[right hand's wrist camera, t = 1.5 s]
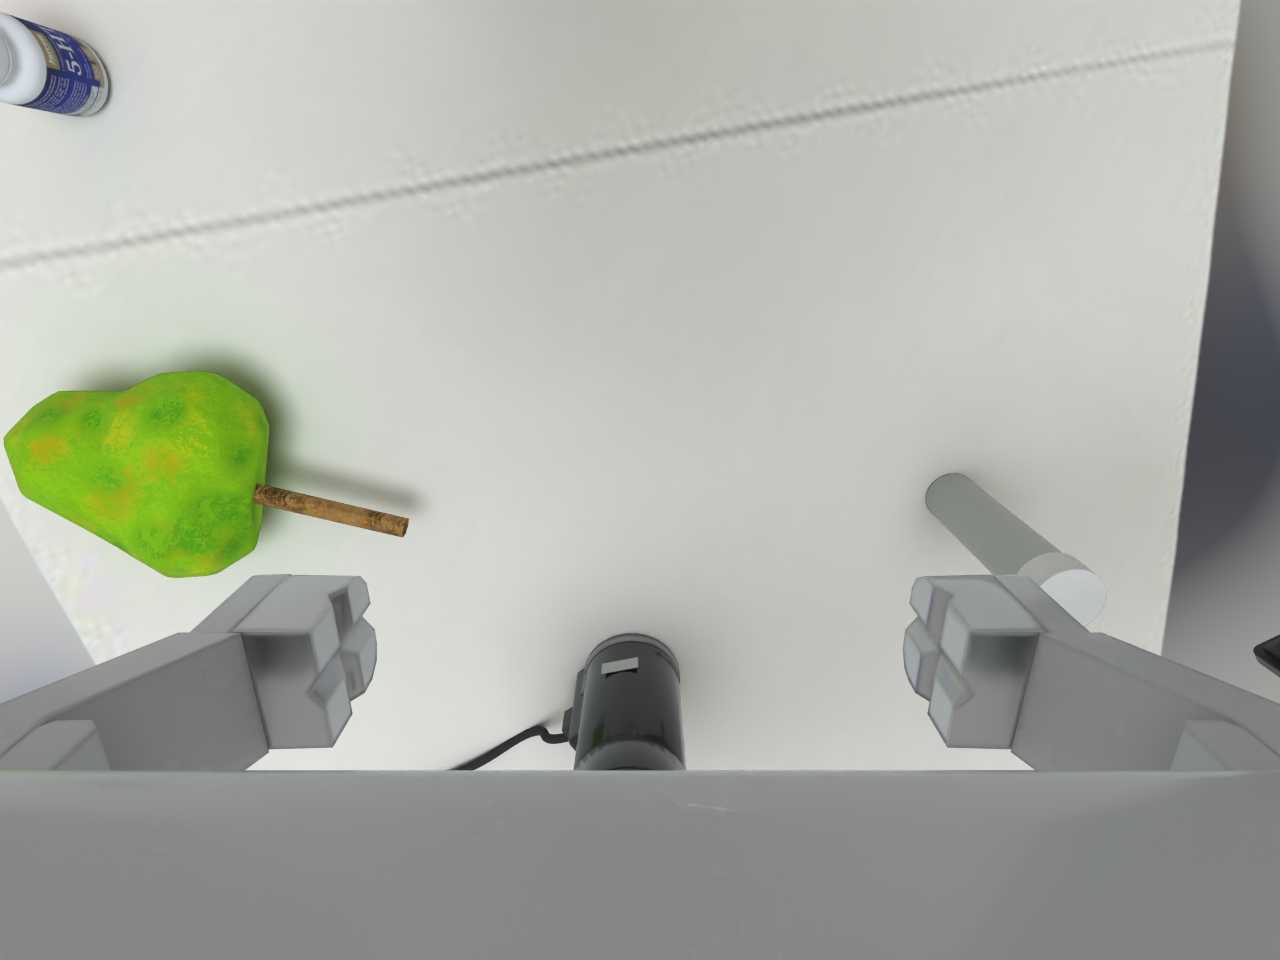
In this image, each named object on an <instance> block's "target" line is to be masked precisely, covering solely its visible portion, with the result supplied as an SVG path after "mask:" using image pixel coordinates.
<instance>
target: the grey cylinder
mask: <svg viewBox="0 0 1280 960" xmlns="http://www.w3.org/2000/svg"><path fill="white" fill-rule="evenodd" d="M926 504H927V507H928V509H929V510H930V512H931V513H932V514H933V515H934V516H935V517H936V518H937V519H938V520H939V521H940V522H941V523H942V524H943V525H944V526H945V527H946V528H947V529H948V530H949V531H950V532H951V533H952V534H953V535H954V536H955V537H956V538H957V539H958V540H959V541H960V542H961V543H962V544H963V545H964V546H965V547H966V548H967V549H968V550H969V551H970V552H971V553H972V554H973V555H974V556H975V557H976V558H977V559H978V560H979V561H980V562H981V563H982V564H983V565H984V566H985V567H986V568H987V569H988V570H989V571H990V572H991V573H992V574H993V575H1008V574H1017V573H1018V572H1019V570H1020V569H1021V568H1022V567H1023V566H1024V565H1025V564H1026V563H1027V562H1028V561H1030V560H1031V559H1033V558H1035V557H1037V556H1039V555H1042V554H1045V553H1051V552H1060V553H1062V552H1061V551H1059V550H1058V549H1057V548H1056V547H1054V546H1053V545H1052V544H1051V543H1049V542H1048V541H1047V540H1045V539H1044V538H1043V537H1042V536H1040V535H1039V534H1038V533H1037V532H1035V531H1034V530H1033V529H1031V528H1030V527H1029V526H1028V525H1026V524H1025V523H1024V522H1023V521H1021V520H1020V519H1019V518H1018V517H1016V516H1015V515H1014V514H1012V513H1011V512H1010V511H1009V510H1007V509H1006V508H1005V507H1004V506H1002V505H1001V504H1000V503H999V502H997V501H996V500H995V499H993V498H992V497H991V496H990V495H988V494H987V493H986V492H985V491H983V490H982V489H981V488H979V487H978V486H977V485H976V484H974V483H973V482H972V481H971V480H969V479H968V478H967V477H965V476H963V475H960V474H947V475H944V476H942V477H940V478H938V479H937V480H935V481H934V482H933V483H932V484H931V486H930V487H929V489H928V491H927V494H926Z"/></svg>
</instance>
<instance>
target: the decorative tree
mask: <svg viewBox="0 0 1280 960" xmlns="http://www.w3.org/2000/svg"><path fill="white" fill-rule="evenodd" d="M268 442H269V423H268V421H267V418H266V416H265V413H264V411H263V408H262V406H261V404H260V402H259V401H258V400H257V399H256V398H254V397H253V396H252V395H250V394H249V393H247V392H246V391H244V390H243V389H241V388H240V387H238V386H237V385H235V384H234V383H232V382H231V381H229V380H228V379H226V378H225V377H223V376H221V375H219V374H215V373H209V372H203V371H186V372H172V373H164V374H159V375H156V376H154V377H152V378H149V379H147V380H145V381H143V382H141V383H139V384H137V385H135V386H133V387H131V388H129V389H128V390H126V391H59V392H56V393H54V394H52V395H51V396H49V397H47V398H46V399H44V400H43V401H41V402H39V403H38V404H36V405H35V406H33V407H32V408H31V409H30V410H29V411H28V412H27V413H26V414H25V415H24V416H23V417H22V418H21V419H20V421H19V422H18V423H17V424H16V425H15V426H14V427H13V428H12V429H11V430H10V431H9V432H8V433H7V434H6V436H5V437H4V447H5V450H6V453H7V456H8V458H9V461H10V464H11V467H12V470H13V473H14V476H15V479H16V481H17V484H18V487H19V490H20V491H21V493H22V494H23V495H24V496H25V497H26V498H28V499H30V500H32V501H34V502H35V503H37V504H39V505H41V506H43V507H45V508H47V509H49V510H50V511H52V512H54V513H56V514H58V515H60V516H62V517H64V518H65V519H67V520H69V521H71V522H73V523H75V524H77V525H79V526H80V527H82V528H84V529H86V530H88V531H89V532H91V533H93V534H95V535H97V536H98V537H100V538H102V539H104V540H105V541H107V542H109V543H111V544H113V545H114V546H116V547H118V548H119V549H121V550H123V551H124V552H126V553H128V554H129V555H130V556H132V557H134V558H135V559H137V560H139V561H140V562H142V563H144V564H146V565H147V566H149V567H151V568H152V569H154V570H156V571H157V572H159V573H161V574H162V575H164V576H167V577H172V578H182V577H197V576H208V575H213V574H217V573H219V572H221V571H222V570H224V569H225V568H227V567H229V566H230V565H232V564H233V563H235V562H237V561H238V560H240V559H241V558H243V557H244V556H246V555H248V554H249V553H250V552H252V551H253V550H254V549H255V547H256V544H257V541H258V536H259V532H260V528H261V523H262V512H263V505H265V506H269V507H273V508H278V509H282V510H286V511H291V512H295V513H299V514H304V515H308V516H312V517H317V518H321V519H325V520H330V521H334V522H338V523H343V524H347V525H351V526H356V527H360V528H364V529H369V530H373V531H377V532H382V533H386V534H390V535H395V536H399V537H404V535H405V534H406V530H407V527H408V521H409V519H408V518H403V517H399V516H395V515H391V514H386V513H382V512H378V511H373V510H369V509H365V508H361V507H356V506H352V505H348V504H344V503H339V502H335V501H331V500H326V499H322V498H318V497H314V496H309V495H305V494H301V493H297V492H292V491H288V490H284V489H279V488H275V487H271V486H267V485H265V477H266V465H267V454H268Z"/></svg>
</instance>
